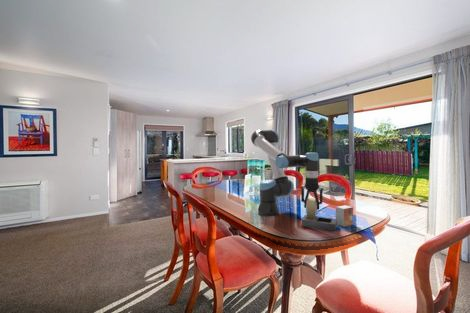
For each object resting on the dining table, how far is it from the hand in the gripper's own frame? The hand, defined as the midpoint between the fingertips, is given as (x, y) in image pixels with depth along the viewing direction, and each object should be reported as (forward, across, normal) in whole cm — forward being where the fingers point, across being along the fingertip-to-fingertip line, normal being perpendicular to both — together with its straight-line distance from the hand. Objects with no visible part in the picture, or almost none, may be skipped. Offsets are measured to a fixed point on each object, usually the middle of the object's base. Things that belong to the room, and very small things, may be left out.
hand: (311, 213), depth 130 cm
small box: (+4, +18, +1) cm, 19 cm away
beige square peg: (+1, 0, 0) cm, 1 cm away
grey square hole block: (+4, +6, -8) cm, 11 cm away
